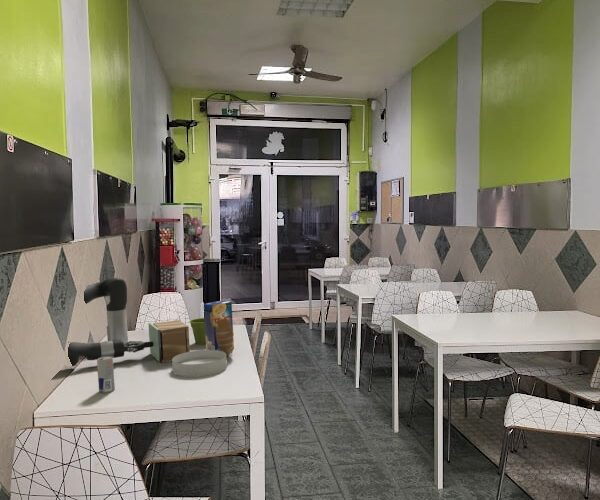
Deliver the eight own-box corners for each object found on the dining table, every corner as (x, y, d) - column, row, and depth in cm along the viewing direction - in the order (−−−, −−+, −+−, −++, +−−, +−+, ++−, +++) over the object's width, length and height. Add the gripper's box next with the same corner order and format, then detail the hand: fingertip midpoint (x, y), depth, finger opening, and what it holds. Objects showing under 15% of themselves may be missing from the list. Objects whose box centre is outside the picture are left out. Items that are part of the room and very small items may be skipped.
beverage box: (234, 348, 238) (231, 301, 236) (215, 353, 230) (212, 305, 228) (224, 346, 242) (222, 300, 241) (206, 351, 234) (203, 304, 233)
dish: (180, 380, 193) (179, 367, 193) (166, 367, 213) (165, 355, 212) (235, 370, 203) (234, 358, 203) (217, 358, 223) (216, 347, 222)
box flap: (162, 361, 218) (160, 329, 218) (159, 362, 218) (157, 330, 217) (152, 352, 235) (150, 322, 234) (150, 352, 235) (148, 322, 234)
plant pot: (212, 338, 260) (211, 316, 259) (216, 343, 248) (215, 320, 248) (189, 341, 256) (187, 319, 255) (191, 346, 245) (190, 323, 244)
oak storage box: (155, 353, 235) (153, 323, 234) (181, 349, 240) (179, 319, 239) (162, 362, 219) (160, 330, 218) (190, 357, 224) (188, 326, 223)
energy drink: (101, 388, 187) (99, 356, 186) (116, 387, 187) (114, 355, 186) (97, 393, 181) (94, 360, 181) (112, 392, 182) (110, 359, 181)
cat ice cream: (236, 357, 222) (234, 316, 221) (218, 359, 219) (216, 318, 218) (232, 352, 230) (230, 313, 229) (215, 354, 228) (213, 315, 227)
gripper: (110, 354, 227) (150, 349, 234) (114, 361, 215) (156, 355, 222) (109, 337, 226) (149, 333, 234) (113, 343, 214) (155, 338, 222)
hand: (152, 343), depth 228 cm, fingers closed
